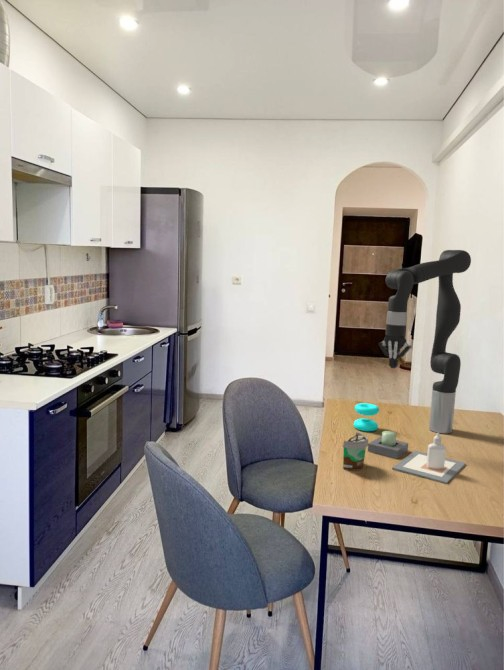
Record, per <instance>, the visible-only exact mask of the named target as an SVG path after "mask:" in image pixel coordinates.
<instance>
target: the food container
mask: <svg viewBox="0 0 504 670" xmlns="http://www.w3.org/2000/svg"><path fill="white" fill-rule="evenodd" d="M368 440H369V439H368V437H367V435H365V434H363V433H360V432H355V435H354V436H353V437H350V438H349V439H348V440H343V443H342V444H343V445H342V448H343V464H342V466H343V467H342V469H343V470H346V469H348V470H347V471H357V470H362V469H363V468H364V463H365V458H366V457H365V455H366V449H367V448H368V444H369V441H368Z"/></svg>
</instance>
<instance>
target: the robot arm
mask: <svg viewBox="0 0 504 670" xmlns="http://www.w3.org/2000/svg"><path fill="white" fill-rule="evenodd" d="M471 263H472V258H471V255H470V253H469V252H468V251H467V250H464V249H446V250H443V251H442V252H441V253H440V256H439V259H438V260H432V261H426V262H422V263H419V264H415V265H413V266H409V267H403V268H397V269H393V270H391V271H389V273H387V274H386V277H385V280H384V281H385V284H386V286H387V287H388V288H389V289H391V290H396V291H397V292H396V293H395V295H391V296H390V297H388V301H387V302H388V304H387V313H386V320H385V322H386V323H385V333H384V334H385V337H384V339H383V340H382V341H381V342H378V346H379V347H380V349H381V351H382V353H383V354H384V356H385V357H387V358H389V360H388V361H389V363H388V365H389V367H390V368H391V369H396V368H397V367H398V364H399V363H398V362H399V359H400V358H403V357H404V356H405V355H406V354H407V353H408V352H409V351H410V350H411V349H412V345H411V344H408V343H407V338H406V337H407V325H408V324H407V323H408V311H407V310H408V301H409V298H410V296H411V293H412V290H413V287H414V285H417V284H420V283H421V284H422V283H424V282H427V281H429V280H432V279H436V278H438V289H437V290H438V293H437V305H436V314H435V329H434V338H433V343H432V344H433V345H432V349H431V355H430V370H432V372H434V373H436V374H439V375H443V379H441V381H440V380H439V381H434V382H433V384H432V389H431V390H432V391H431V402H430V403H431V404H430V413H429V414H430V415H429V425H428V430H429V431H431V432H434V433H436V434H437V433H439V434H451V433H453V425H454V416H455V415H454V414H455V406H456V405H455V404H456V394H457V388H458V384H459V381H460V380H459V379H460V372H461V365H462V364H461V363H462V362H461V357H460V356H459V355H458V354H456V353H452V352H451V353H450V352H447V351H446V350H447V349H446V348H447V343H448V340H449V338H450V337H451V335H452V334H453V333H454V331H455V330H456V328H457V327H458V326H459V323H460V320H461V309H462V308H461V307H462V306H461V302H460V298H459V297H458V295H457V292H456V291H455V287H454V282H453V281H454V277H453V275H454V274H461V273H465V272H467V270H468V269H469V268H470V266H471ZM402 348H403V349H402ZM401 349H402V351H401Z"/></svg>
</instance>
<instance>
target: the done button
mask: <svg viewBox="0 0 504 670" xmlns="http://www.w3.org/2000/svg"><path fill="white" fill-rule="evenodd" d="M381 437H382V443H381V444H382V445H386V446H390V447H394V446H395V444H396V440H397V433H396V432H394V431H392V430H391V431H390V430H384V431H382V432H381Z"/></svg>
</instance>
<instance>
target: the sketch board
mask: <svg viewBox="0 0 504 670" xmlns="http://www.w3.org/2000/svg"><path fill="white" fill-rule="evenodd" d="M426 463H427V453H426V452H422V451H418V450H414V451H412V452H411V453H410V454H408V455H407V456H406V457H404V458H403V459H401V460H400V461H399V462H398V463H396V464H395V465H394V466H392V467H391V469H392V470H393V471H397V472H401V473H404V474H408V475H411V476H416V477H420V478H423V477H424V479H426V478H428V479H427V480H430V479H431V481H434V480H435V481H434V482H438V483H442V484H446V485H447V484H448V483H449V482H450V481H451V480H452V479H453V478H454V477H455V476H456V475H457V474H458V473H459V472H460V471H461V470H462V469H463V468H464V467H465V466H466V464H467V462H464V461H460V460H456V459H451V458H447V457H445V464H444V468H443V469H430V468H428V467H427V466H426Z"/></svg>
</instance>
